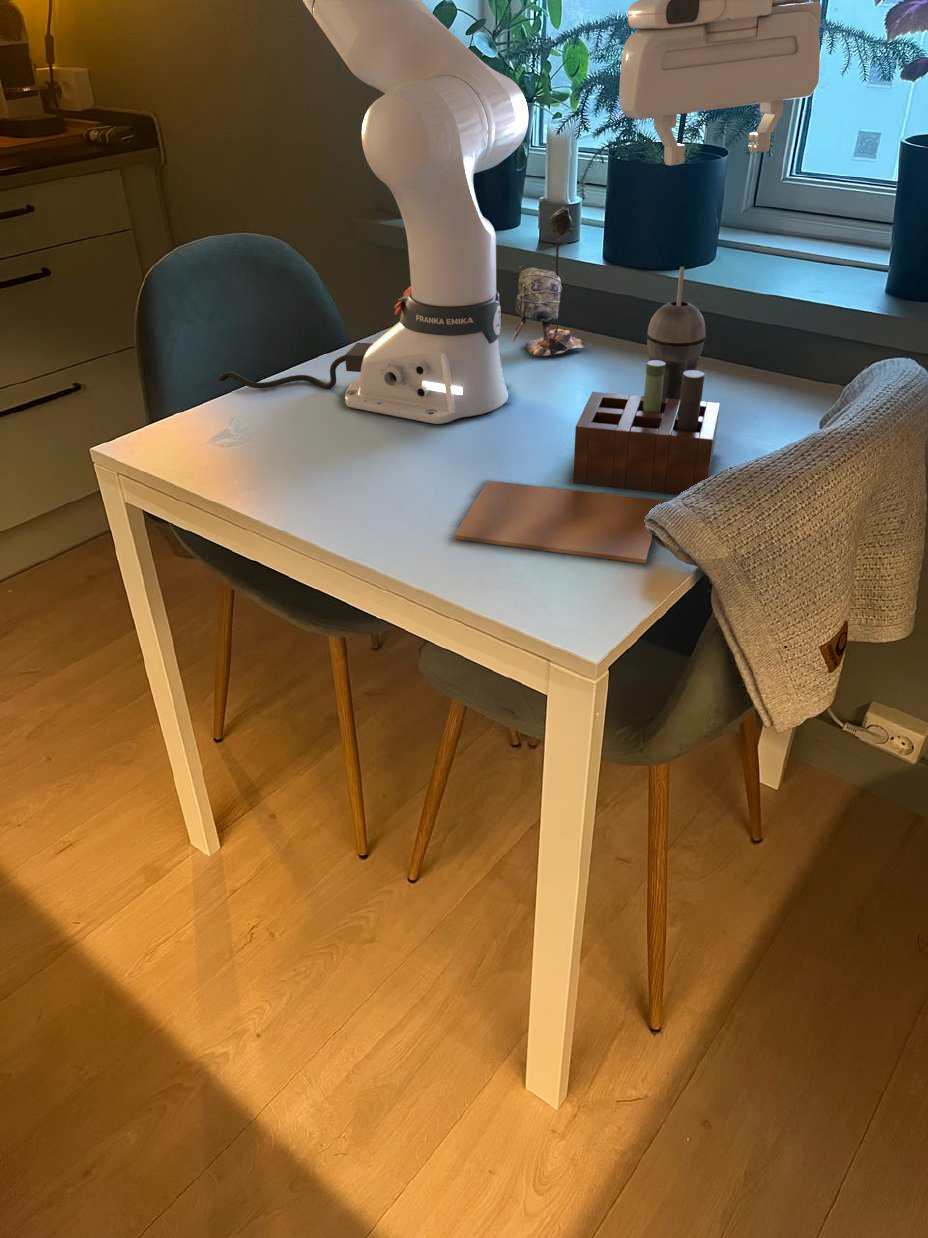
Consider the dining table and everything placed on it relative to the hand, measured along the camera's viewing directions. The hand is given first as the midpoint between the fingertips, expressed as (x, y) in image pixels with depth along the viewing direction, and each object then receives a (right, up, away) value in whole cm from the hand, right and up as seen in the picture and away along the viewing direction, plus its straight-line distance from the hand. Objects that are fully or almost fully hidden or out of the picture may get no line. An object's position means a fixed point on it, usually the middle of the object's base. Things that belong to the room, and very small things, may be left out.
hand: (716, 158), depth 98 cm
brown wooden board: (-15, -37, +5) cm, 40 cm away
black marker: (-1, -32, +12) cm, 34 cm away
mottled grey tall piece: (-13, -6, +50) cm, 52 cm away
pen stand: (-5, -30, +15) cm, 34 cm away
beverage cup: (0, -22, +26) cm, 34 cm away
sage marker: (-4, -28, +17) cm, 33 cm away
